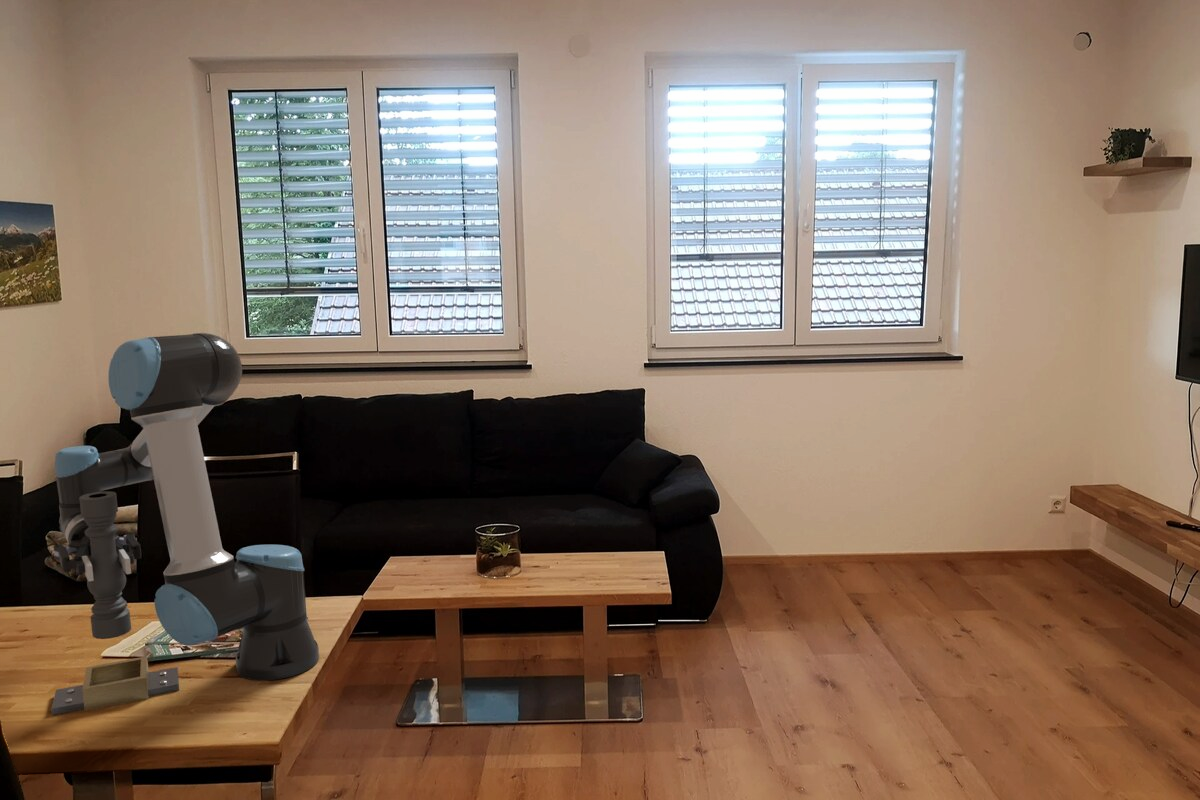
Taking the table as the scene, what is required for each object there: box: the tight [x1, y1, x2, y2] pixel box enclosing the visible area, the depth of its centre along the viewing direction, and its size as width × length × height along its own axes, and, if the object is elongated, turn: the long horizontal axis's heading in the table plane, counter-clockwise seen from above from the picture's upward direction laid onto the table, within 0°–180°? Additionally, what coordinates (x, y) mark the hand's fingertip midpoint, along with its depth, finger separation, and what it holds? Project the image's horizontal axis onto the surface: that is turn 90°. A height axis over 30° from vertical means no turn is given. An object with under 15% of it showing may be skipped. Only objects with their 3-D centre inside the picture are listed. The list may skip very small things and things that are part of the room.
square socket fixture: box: [51, 655, 180, 716], centre depth 167 cm, size 20×10×4 cm, turn 115°
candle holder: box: [79, 490, 132, 640], centre depth 162 cm, size 6×6×25 cm
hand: (109, 569), depth 158 cm, fingers closed on candle holder, 5 cm apart
